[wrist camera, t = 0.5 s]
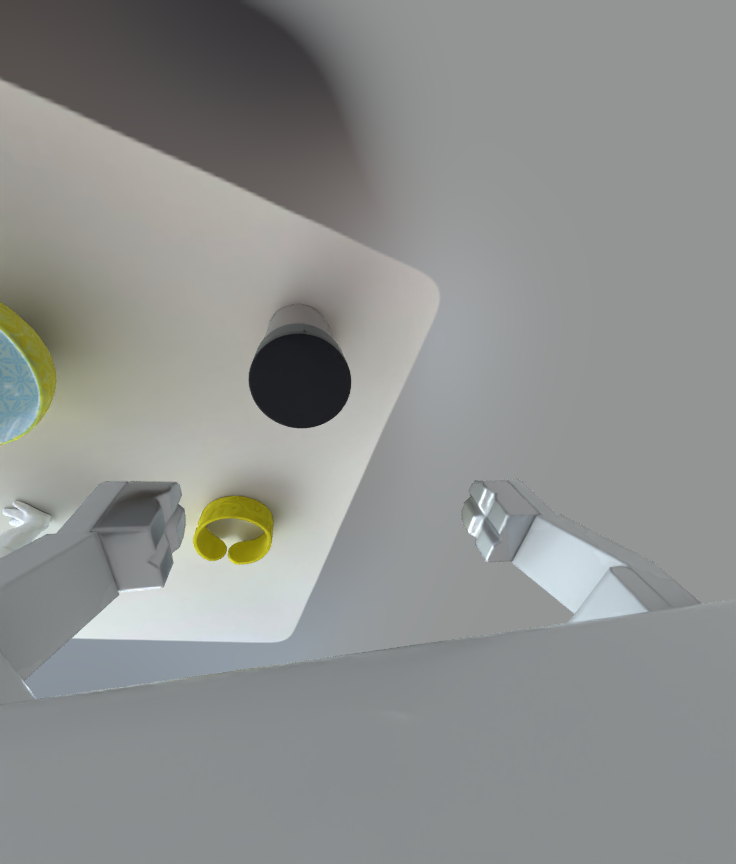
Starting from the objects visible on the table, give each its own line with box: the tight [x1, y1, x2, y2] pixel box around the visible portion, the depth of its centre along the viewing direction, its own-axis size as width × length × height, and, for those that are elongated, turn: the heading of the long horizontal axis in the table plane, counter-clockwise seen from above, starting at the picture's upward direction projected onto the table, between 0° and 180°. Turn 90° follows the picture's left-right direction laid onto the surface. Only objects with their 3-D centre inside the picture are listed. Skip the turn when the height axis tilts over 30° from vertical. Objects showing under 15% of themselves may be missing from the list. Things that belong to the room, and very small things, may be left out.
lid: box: [249, 323, 351, 428], centre depth 19 cm, size 6×6×3 cm
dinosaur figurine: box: [0, 501, 51, 558], centre depth 26 cm, size 20×10×15 cm, turn 88°
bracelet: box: [193, 496, 273, 564], centre depth 35 cm, size 7×8×3 cm
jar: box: [264, 304, 334, 339], centre depth 23 cm, size 5×5×12 cm
